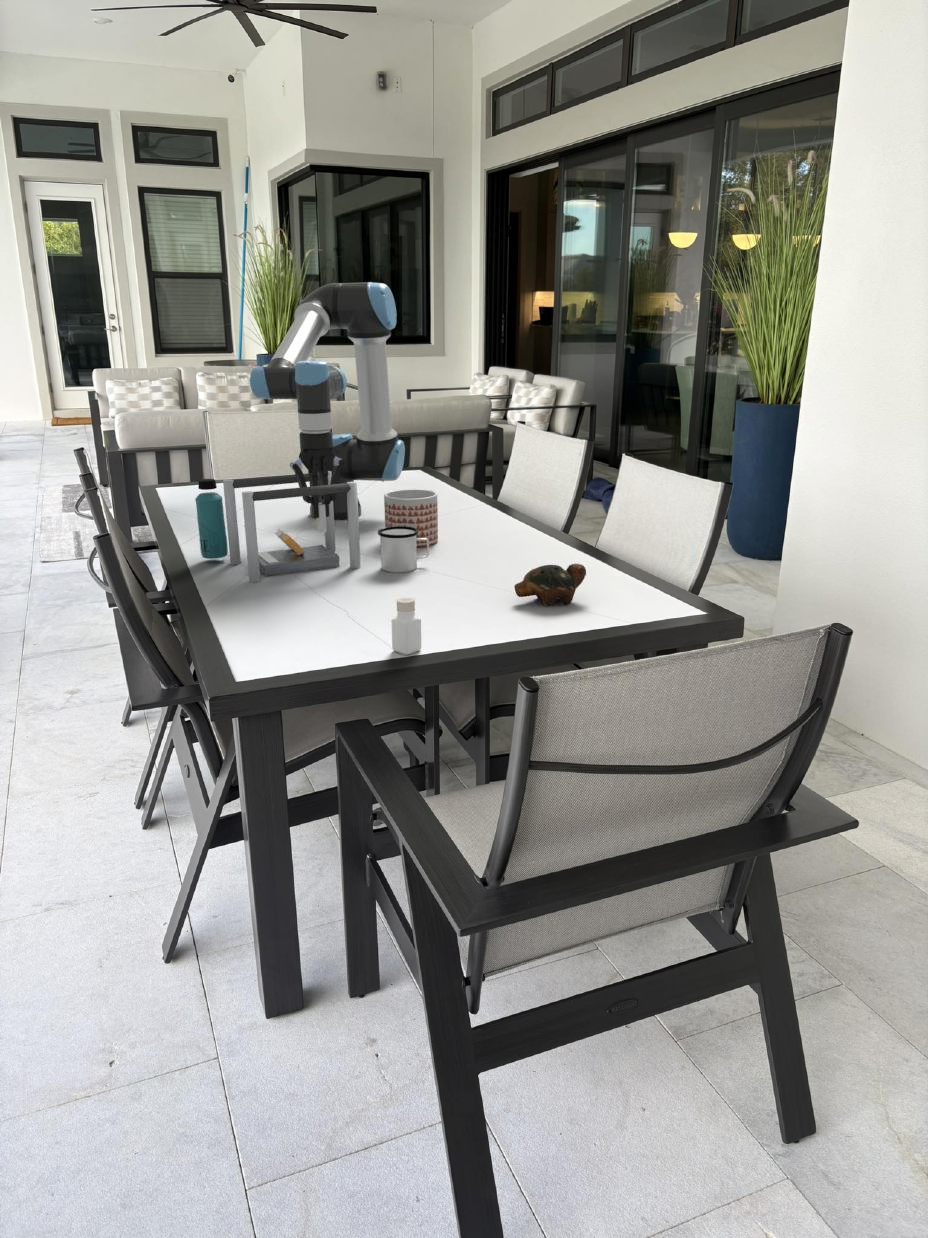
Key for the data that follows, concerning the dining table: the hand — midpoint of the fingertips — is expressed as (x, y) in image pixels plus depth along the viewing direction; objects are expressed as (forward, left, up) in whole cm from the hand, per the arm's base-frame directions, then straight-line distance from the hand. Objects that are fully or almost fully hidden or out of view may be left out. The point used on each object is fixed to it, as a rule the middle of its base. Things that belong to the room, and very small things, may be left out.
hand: (321, 530), depth 214 cm
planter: (-27, -7, -8) cm, 29 cm away
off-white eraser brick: (+5, -5, -5) cm, 9 cm away
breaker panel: (+7, 0, -8) cm, 10 cm away
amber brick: (+5, 0, -5) cm, 7 cm away
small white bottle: (+7, +65, -8) cm, 66 cm away
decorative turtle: (-31, +53, -8) cm, 62 cm away
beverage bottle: (+23, -12, -8) cm, 27 cm away
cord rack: (+7, 0, -8) cm, 10 cm away
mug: (-15, +15, -8) cm, 22 cm away
